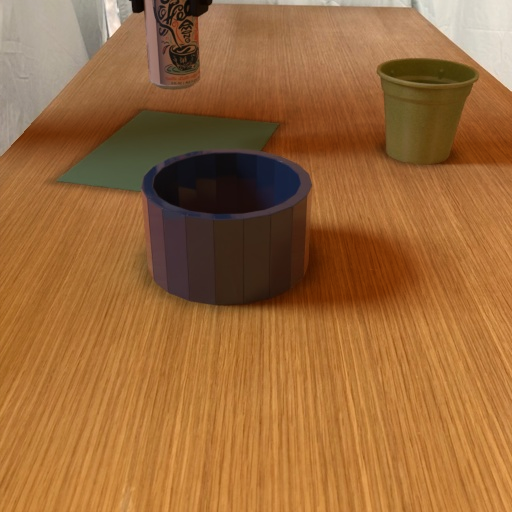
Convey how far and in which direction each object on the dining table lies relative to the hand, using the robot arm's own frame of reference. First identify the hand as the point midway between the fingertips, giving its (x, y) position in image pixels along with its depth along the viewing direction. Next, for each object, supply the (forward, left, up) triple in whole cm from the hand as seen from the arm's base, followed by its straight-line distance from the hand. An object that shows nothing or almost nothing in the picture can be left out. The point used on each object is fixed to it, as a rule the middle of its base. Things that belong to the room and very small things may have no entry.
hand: (170, 9), depth 62 cm
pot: (+11, -19, -14) cm, 26 cm away
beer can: (0, 0, -7) cm, 7 cm away
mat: (0, 0, -14) cm, 14 cm away
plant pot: (+23, +6, -14) cm, 28 cm away
